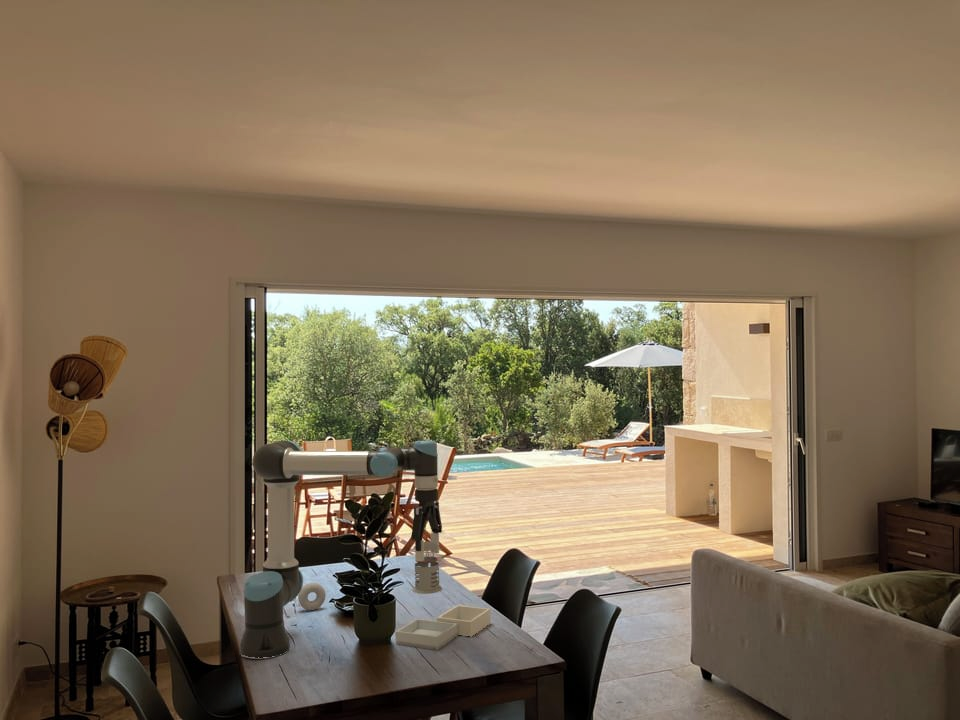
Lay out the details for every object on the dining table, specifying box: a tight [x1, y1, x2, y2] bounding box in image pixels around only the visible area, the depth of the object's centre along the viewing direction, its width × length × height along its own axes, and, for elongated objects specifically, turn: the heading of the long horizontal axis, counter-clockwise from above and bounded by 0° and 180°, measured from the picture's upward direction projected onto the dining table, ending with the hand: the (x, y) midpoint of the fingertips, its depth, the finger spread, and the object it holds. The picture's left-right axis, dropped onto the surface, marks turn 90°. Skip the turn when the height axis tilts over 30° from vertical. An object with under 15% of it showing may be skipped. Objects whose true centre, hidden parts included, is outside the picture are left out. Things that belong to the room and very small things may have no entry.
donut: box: [297, 582, 326, 611], centre depth 281 cm, size 10×4×10 cm, turn 114°
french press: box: [412, 524, 443, 595], centre depth 246 cm, size 10×12×25 cm
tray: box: [394, 618, 458, 651], centre depth 245 cm, size 14×15×4 cm
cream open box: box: [436, 604, 491, 638], centre depth 255 cm, size 15×13×5 cm
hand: (427, 556), depth 246 cm, fingers closed on french press, 10 cm apart
